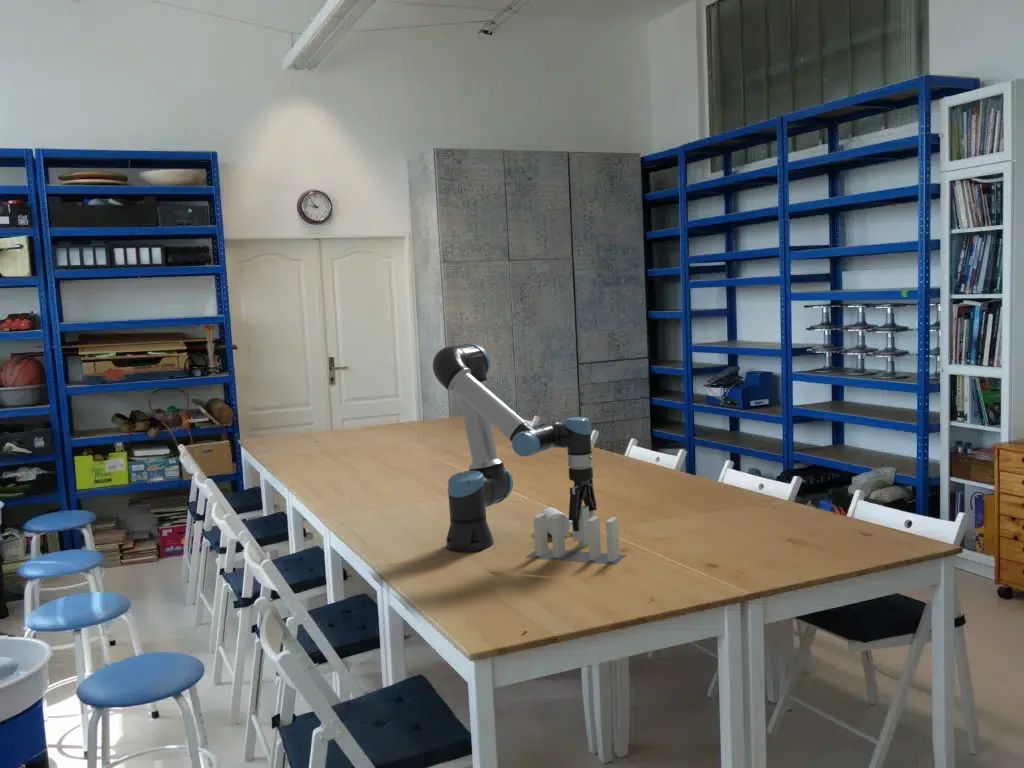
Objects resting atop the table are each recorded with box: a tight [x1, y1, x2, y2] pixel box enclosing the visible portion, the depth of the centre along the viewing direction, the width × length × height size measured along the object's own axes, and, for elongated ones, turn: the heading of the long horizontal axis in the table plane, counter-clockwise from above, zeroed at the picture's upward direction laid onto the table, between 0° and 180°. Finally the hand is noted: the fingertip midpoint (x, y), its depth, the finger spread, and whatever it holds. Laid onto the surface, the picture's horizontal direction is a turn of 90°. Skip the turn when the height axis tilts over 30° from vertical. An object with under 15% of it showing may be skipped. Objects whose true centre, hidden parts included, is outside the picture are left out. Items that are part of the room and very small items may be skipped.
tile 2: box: [551, 513, 566, 558], centre depth 277 cm, size 2×5×12 cm, turn 154°
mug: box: [540, 507, 572, 537], centre depth 303 cm, size 12×10×8 cm
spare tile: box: [578, 505, 589, 548], centre depth 287 cm, size 2×5×12 cm, turn 154°
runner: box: [524, 548, 627, 566], centre depth 275 cm, size 29×10×1 cm, turn 65°
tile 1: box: [533, 512, 549, 556], centre depth 280 cm, size 2×5×12 cm, turn 155°
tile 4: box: [587, 515, 602, 561], centre depth 272 cm, size 2×5×12 cm, turn 155°
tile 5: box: [605, 516, 620, 562], centre depth 270 cm, size 2×5×12 cm, turn 154°
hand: (584, 535), depth 288 cm, fingers open, 11 cm apart
